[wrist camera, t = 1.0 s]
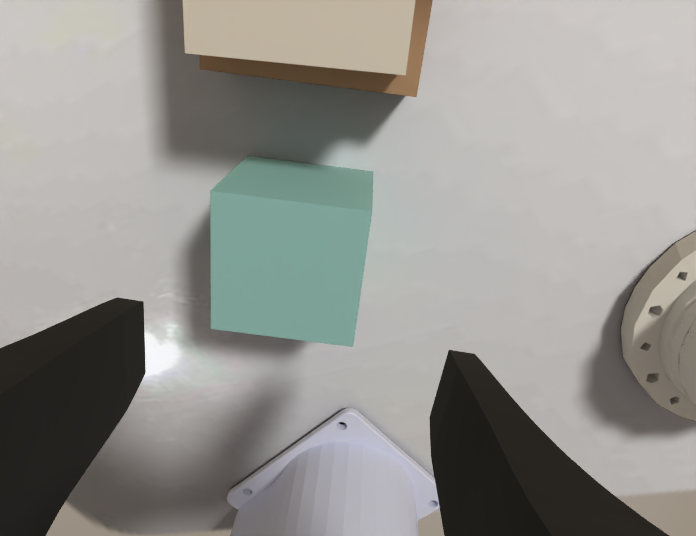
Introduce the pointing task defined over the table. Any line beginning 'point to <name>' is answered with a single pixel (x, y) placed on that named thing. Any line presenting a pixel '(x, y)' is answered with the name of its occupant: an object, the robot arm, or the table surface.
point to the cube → (289, 249)
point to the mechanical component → (665, 329)
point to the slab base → (339, 76)
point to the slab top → (303, 32)
